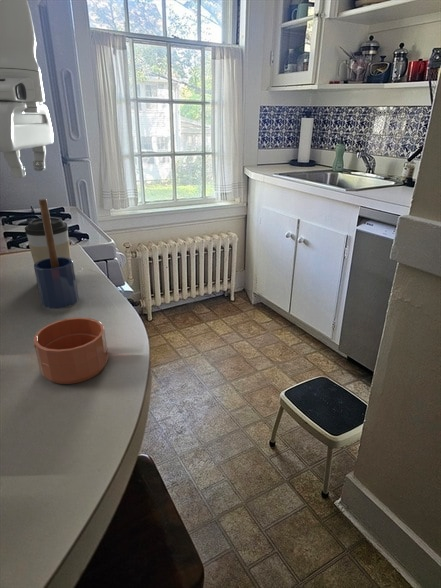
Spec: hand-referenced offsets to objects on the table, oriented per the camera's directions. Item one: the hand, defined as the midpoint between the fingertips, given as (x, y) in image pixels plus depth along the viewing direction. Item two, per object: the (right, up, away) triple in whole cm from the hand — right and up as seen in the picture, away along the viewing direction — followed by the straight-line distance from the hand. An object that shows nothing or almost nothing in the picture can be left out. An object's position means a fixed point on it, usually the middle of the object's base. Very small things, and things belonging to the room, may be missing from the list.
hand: (30, 173), depth 73 cm
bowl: (+13, -34, -11) cm, 38 cm away
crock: (+2, -24, +9) cm, 26 cm away
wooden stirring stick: (+2, -24, +9) cm, 25 cm away
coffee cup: (-3, -20, +20) cm, 28 cm away
